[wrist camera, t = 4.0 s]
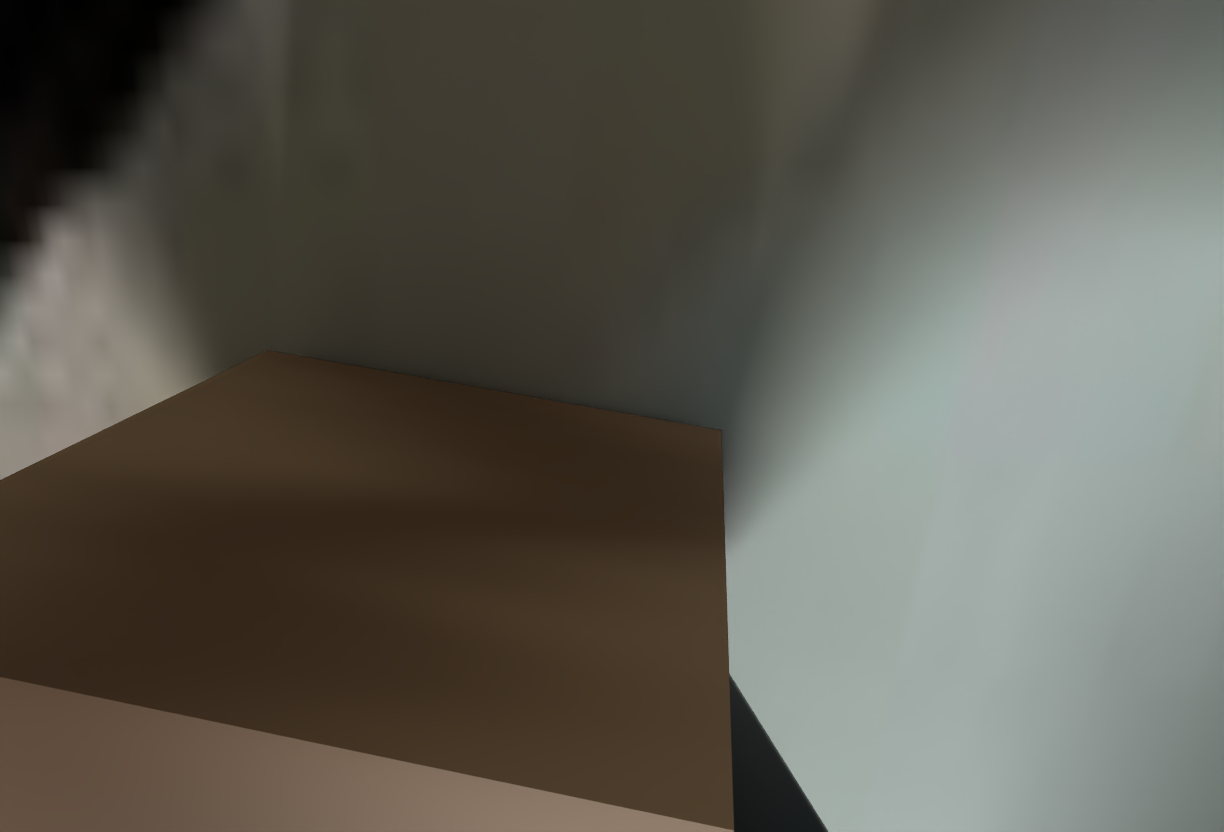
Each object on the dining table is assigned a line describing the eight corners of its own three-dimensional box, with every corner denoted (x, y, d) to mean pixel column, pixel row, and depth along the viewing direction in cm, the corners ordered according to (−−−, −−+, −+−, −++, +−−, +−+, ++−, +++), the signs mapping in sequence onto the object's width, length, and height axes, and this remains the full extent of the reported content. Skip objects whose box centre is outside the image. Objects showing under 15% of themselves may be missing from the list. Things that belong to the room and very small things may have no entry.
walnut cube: (721, 430, 8) (735, 832, 3) (647, 788, 10) (588, 1373, 5) (266, 350, 8) (-282, 616, 4) (274, 711, 10) (-94, 1196, 6)
